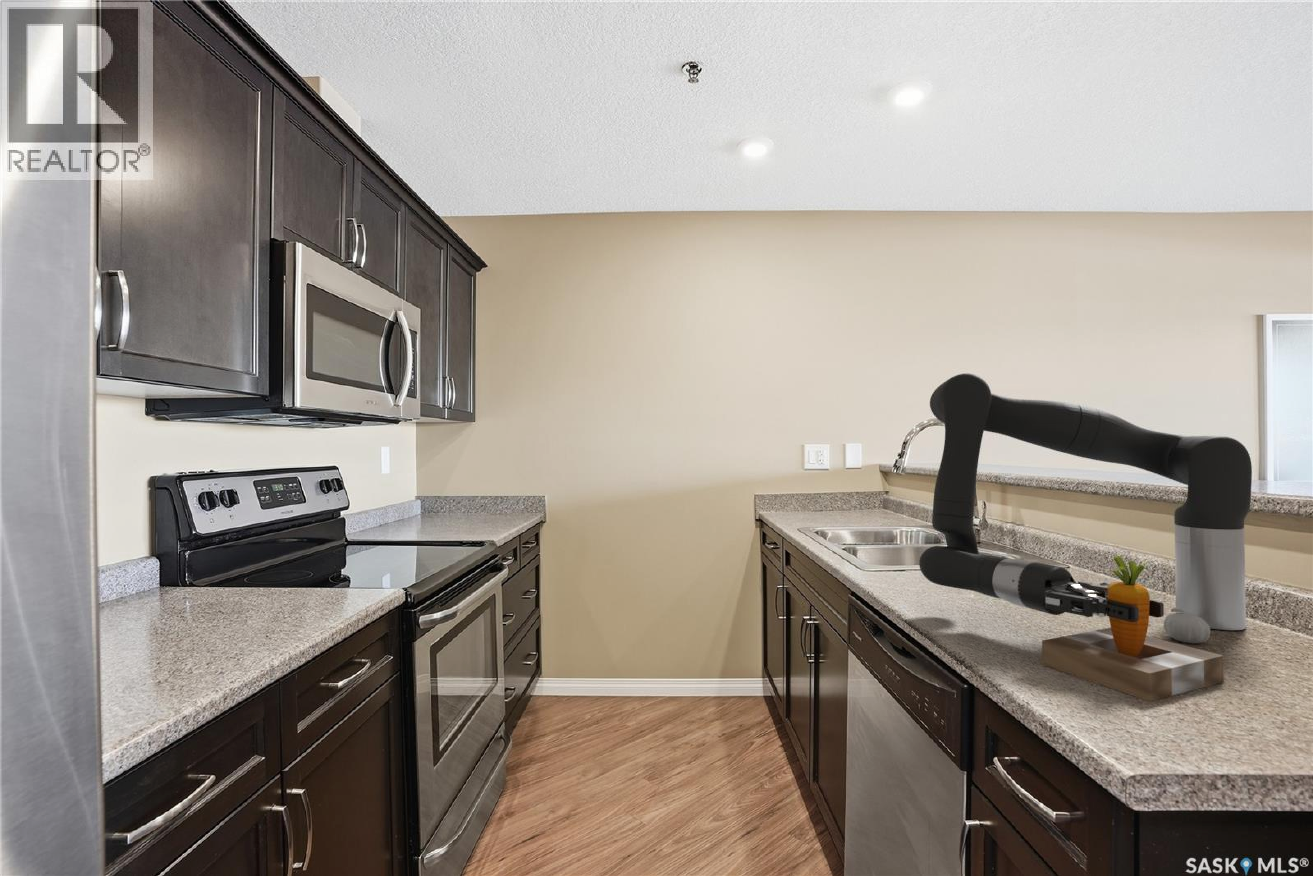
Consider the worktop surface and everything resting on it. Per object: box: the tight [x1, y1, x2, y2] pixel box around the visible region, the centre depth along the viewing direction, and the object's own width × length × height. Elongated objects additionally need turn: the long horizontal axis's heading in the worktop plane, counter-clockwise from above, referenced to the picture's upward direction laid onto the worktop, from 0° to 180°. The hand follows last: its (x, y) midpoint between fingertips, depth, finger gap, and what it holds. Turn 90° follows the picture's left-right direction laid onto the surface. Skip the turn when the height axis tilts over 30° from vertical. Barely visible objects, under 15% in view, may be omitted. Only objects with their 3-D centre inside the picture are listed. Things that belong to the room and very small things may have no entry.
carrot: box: [1108, 555, 1151, 658], centre depth 86 cm, size 5×5×15 cm
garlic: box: [1163, 607, 1211, 644], centre depth 100 cm, size 6×5×5 cm
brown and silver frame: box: [1041, 627, 1225, 702], centre depth 86 cm, size 16×14×4 cm
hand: (1149, 612), depth 84 cm, fingers closed on carrot, 5 cm apart
